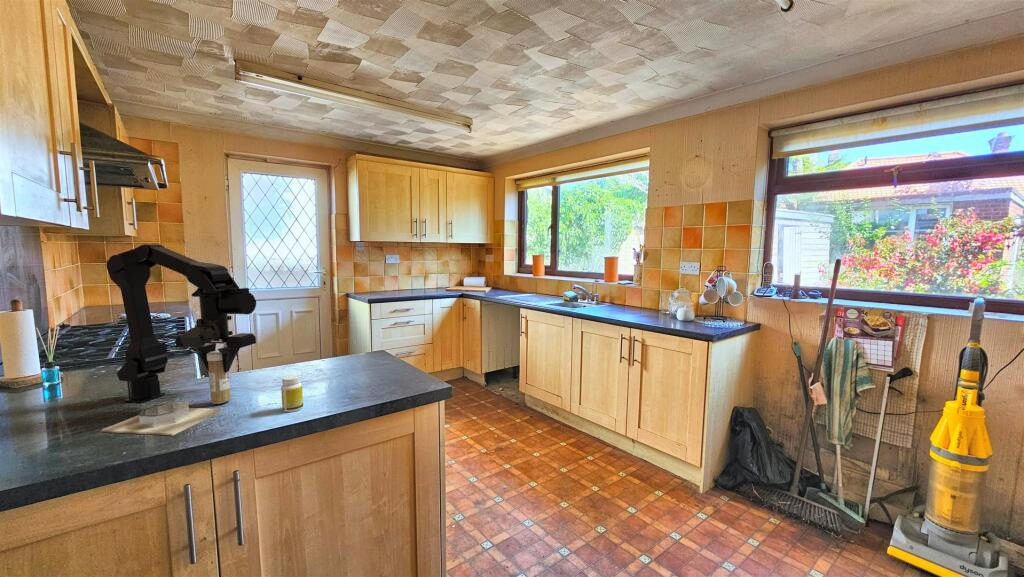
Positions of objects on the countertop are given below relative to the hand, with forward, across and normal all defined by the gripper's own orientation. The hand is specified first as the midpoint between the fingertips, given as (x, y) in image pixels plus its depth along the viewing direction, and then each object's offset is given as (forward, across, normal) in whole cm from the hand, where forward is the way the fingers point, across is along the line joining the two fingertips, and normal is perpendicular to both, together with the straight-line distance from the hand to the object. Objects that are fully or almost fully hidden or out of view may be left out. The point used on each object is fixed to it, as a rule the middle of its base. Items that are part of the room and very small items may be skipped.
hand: (218, 371), depth 111 cm
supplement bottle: (+9, +22, -2) cm, 24 cm away
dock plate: (+8, -4, -12) cm, 15 cm away
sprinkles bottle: (+8, 0, 0) cm, 8 cm away
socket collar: (+8, -4, -12) cm, 15 cm away
